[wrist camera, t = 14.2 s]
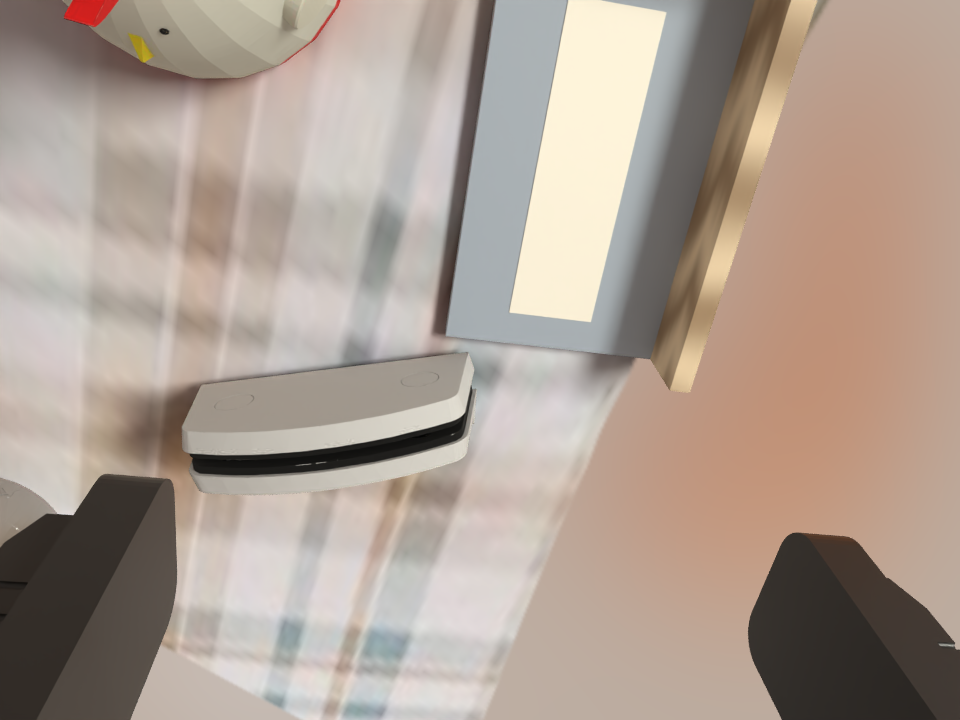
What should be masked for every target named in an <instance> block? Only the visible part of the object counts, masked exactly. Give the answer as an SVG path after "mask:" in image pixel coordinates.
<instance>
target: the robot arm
mask: <svg viewBox="0 0 960 720" xmlns="http://www.w3.org/2000/svg"><path fill="white" fill-rule="evenodd" d="M176 585H177V556H176V527H175V497H174V487H173V484H172V482H171V480H170V479H162V478H150V477H138V476H126V475H114V474H104V475H102V476H100V477H99V478H98V480H97V481H96V482H95V484H94V485H93V487H92V488H91V490H90V491H89V493H88V494H87V496H86V497H85V499H84V500H83V502H82V503H81V505H80V506H79V508H78V509H77V511H76V512H75V514H74V515H61V514H57V513H56V512H55V510H54V509H53V508H52V507H51V506H50V505H49V504H48V503H47V502H46V501H45V500H44V499H43V498H42V497H40V496H39V495H37V494H36V493H34V492H33V491H31V490H30V489H28V488H26V487H24V486H22V485H20V484H18V483H15V482H12V481H9V480H6V479H3V478H0V720H130V719H131V716H132V714H133V711H134V709H135V706H136V704H137V701H138V699H139V696H140V694H141V691H142V689H143V686H144V684H145V682H146V679H147V677H148V674H149V672H150V669H151V667H152V664H153V661H154V659H155V657H156V654H157V652H158V649H159V647H160V644H161V642H162V639H163V637H164V634H165V632H166V629H167V626H168V624H169V620H170V617H171V613H172V609H173V605H174V599H175V593H176ZM748 639H749V647H750V652H751V655H752V659H753V661H754V664H755V666H756V668H757V670H758V672H759V674H760V676H761V678H762V680H763V682H764V684H765V686H766V688H767V690H768V692H769V694H770V696H771V698H772V700H773V702H774V704H775V706H776V708H777V710H778V712H779V714H780V716H781V719H782V720H960V650H956V649H955V646H954V645H955V642H954V641H953V640H952V639H951V638H950V636H949V635H948V634H947V633H946V631H945V630H944V629H943V628H942V627H941V625H940V624H939V623H938V622H937V620H936V619H935V618H934V617H933V616H932V615H931V613H930V612H929V611H928V610H927V608H925V607H924V606H923V605H922V604H920V603H919V602H918V601H917V600H915V599H914V598H913V597H912V596H910V595H909V594H908V593H907V592H905V591H904V590H903V589H902V588H900V587H899V586H898V585H897V584H895V583H894V582H893V581H892V580H890V579H889V578H886V577H885V576H884V575H883V573H882V572H881V571H880V569H879V568H878V567H877V566H876V564H875V563H874V562H873V561H872V559H871V558H870V557H869V556H868V554H867V553H866V552H865V551H864V549H863V548H862V547H861V546H860V545H859V543H858V542H856V541H855V540H854V539H852V538H850V537H845V536H833V535H819V534H808V533H792V534H790V535H788V536H787V537H786V538H785V539H784V541H783V542H782V544H781V546H780V548H779V551H778V553H777V555H776V558H775V560H774V562H773V565H772V567H771V569H770V571H769V574H768V576H767V579H766V581H765V583H764V585H763V588H762V590H761V592H760V595H759V597H758V599H757V602H756V604H755V606H754V608H753V611H752V613H751V616H750V621H749V627H748Z"/></svg>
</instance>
